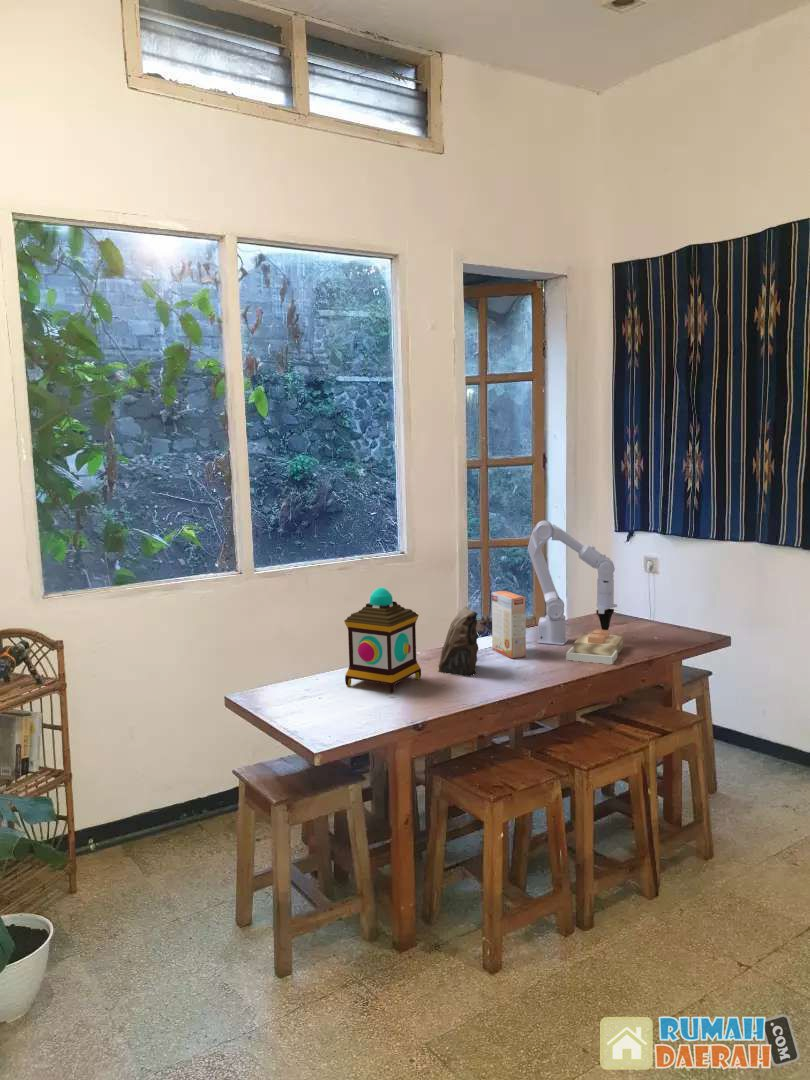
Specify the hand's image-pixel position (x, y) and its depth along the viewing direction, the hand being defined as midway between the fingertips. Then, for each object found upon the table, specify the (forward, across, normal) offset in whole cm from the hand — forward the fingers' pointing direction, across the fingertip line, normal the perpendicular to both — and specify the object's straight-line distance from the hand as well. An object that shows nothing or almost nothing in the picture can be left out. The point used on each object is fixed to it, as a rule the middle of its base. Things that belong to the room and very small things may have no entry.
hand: (605, 629), depth 294 cm
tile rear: (+1, -8, 0) cm, 8 cm away
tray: (+5, -22, 0) cm, 22 cm away
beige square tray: (+5, -10, 0) cm, 11 cm away
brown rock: (+5, -49, +37) cm, 62 cm away
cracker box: (+5, -24, +28) cm, 37 cm away
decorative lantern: (+5, -69, +54) cm, 88 cm away
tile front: (+1, -14, 0) cm, 14 cm away
